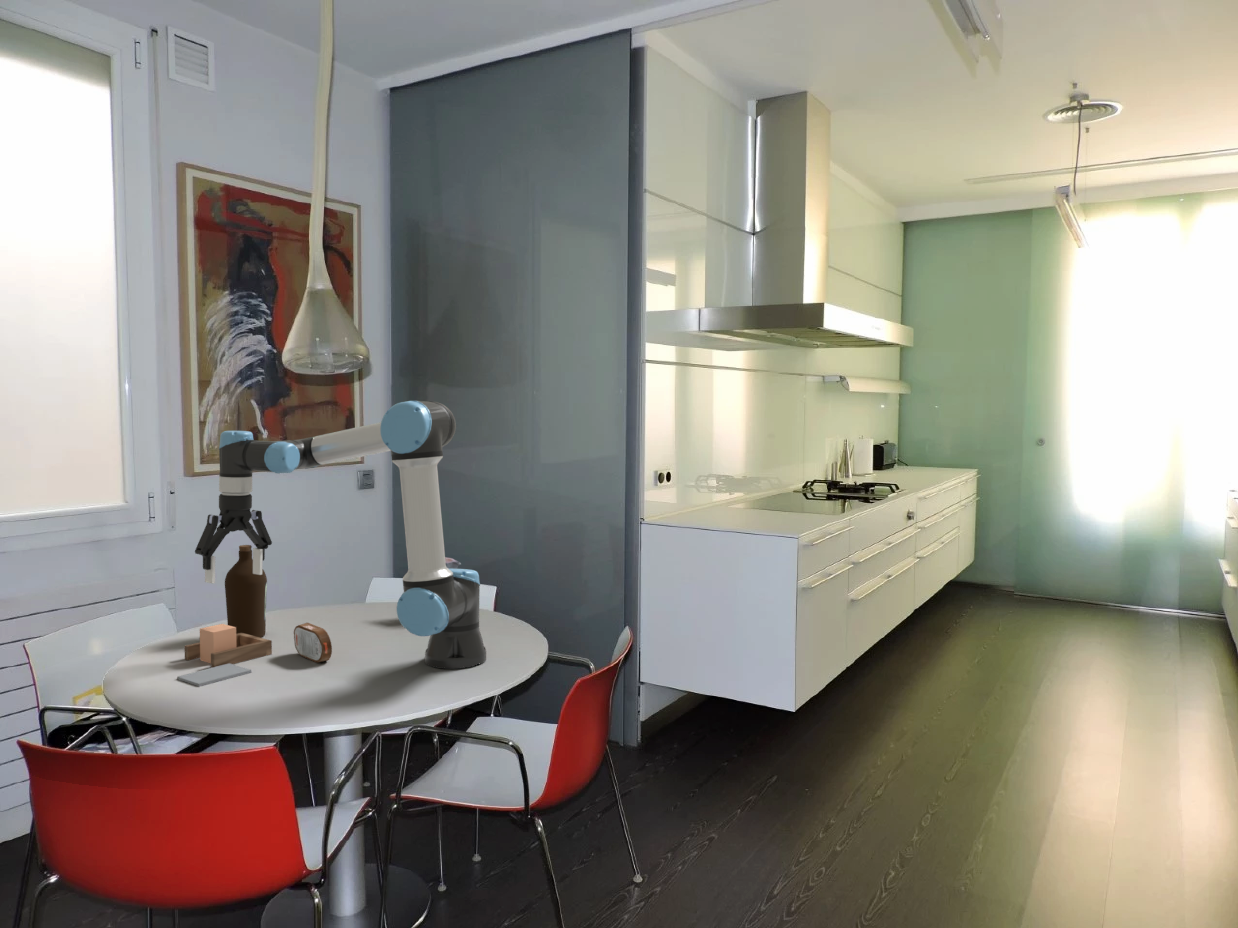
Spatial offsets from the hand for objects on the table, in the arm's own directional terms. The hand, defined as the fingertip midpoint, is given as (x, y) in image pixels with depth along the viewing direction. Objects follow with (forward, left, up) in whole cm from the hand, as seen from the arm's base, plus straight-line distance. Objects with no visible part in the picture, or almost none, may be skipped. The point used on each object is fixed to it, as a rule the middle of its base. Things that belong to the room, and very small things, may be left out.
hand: (234, 578), depth 220 cm
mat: (-9, +11, -20) cm, 25 cm away
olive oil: (+16, -14, -20) cm, 30 cm away
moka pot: (-9, -60, -20) cm, 64 cm away
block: (+2, +3, -20) cm, 21 cm away
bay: (+2, 0, -20) cm, 20 cm away
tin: (-16, -11, -21) cm, 28 cm away
